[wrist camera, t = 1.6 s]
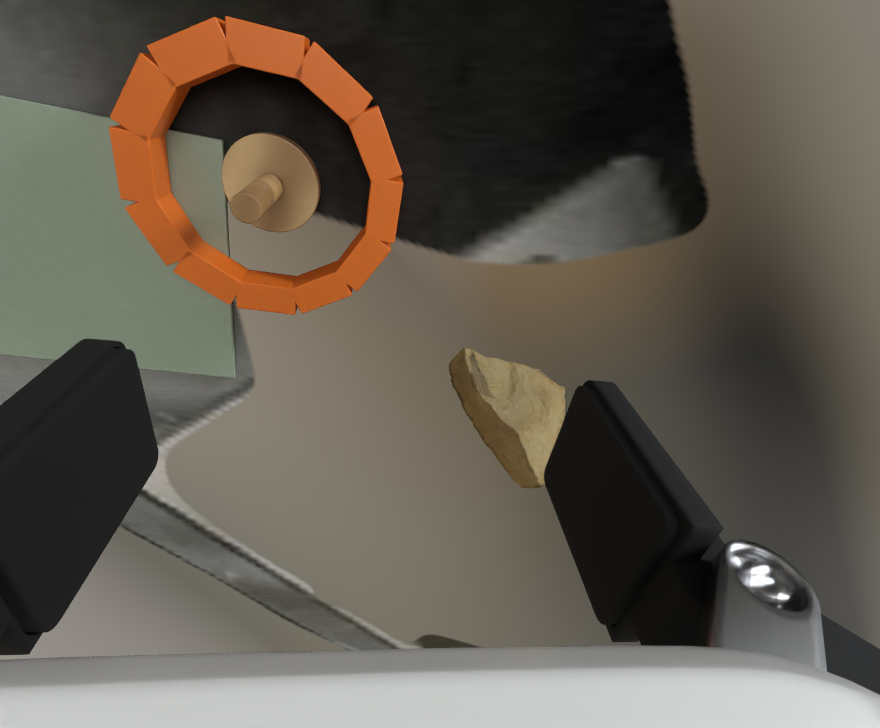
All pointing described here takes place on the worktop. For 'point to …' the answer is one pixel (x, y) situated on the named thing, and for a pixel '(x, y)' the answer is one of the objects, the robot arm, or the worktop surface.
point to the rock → (511, 411)
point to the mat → (103, 246)
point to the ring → (147, 172)
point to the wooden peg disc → (270, 182)
